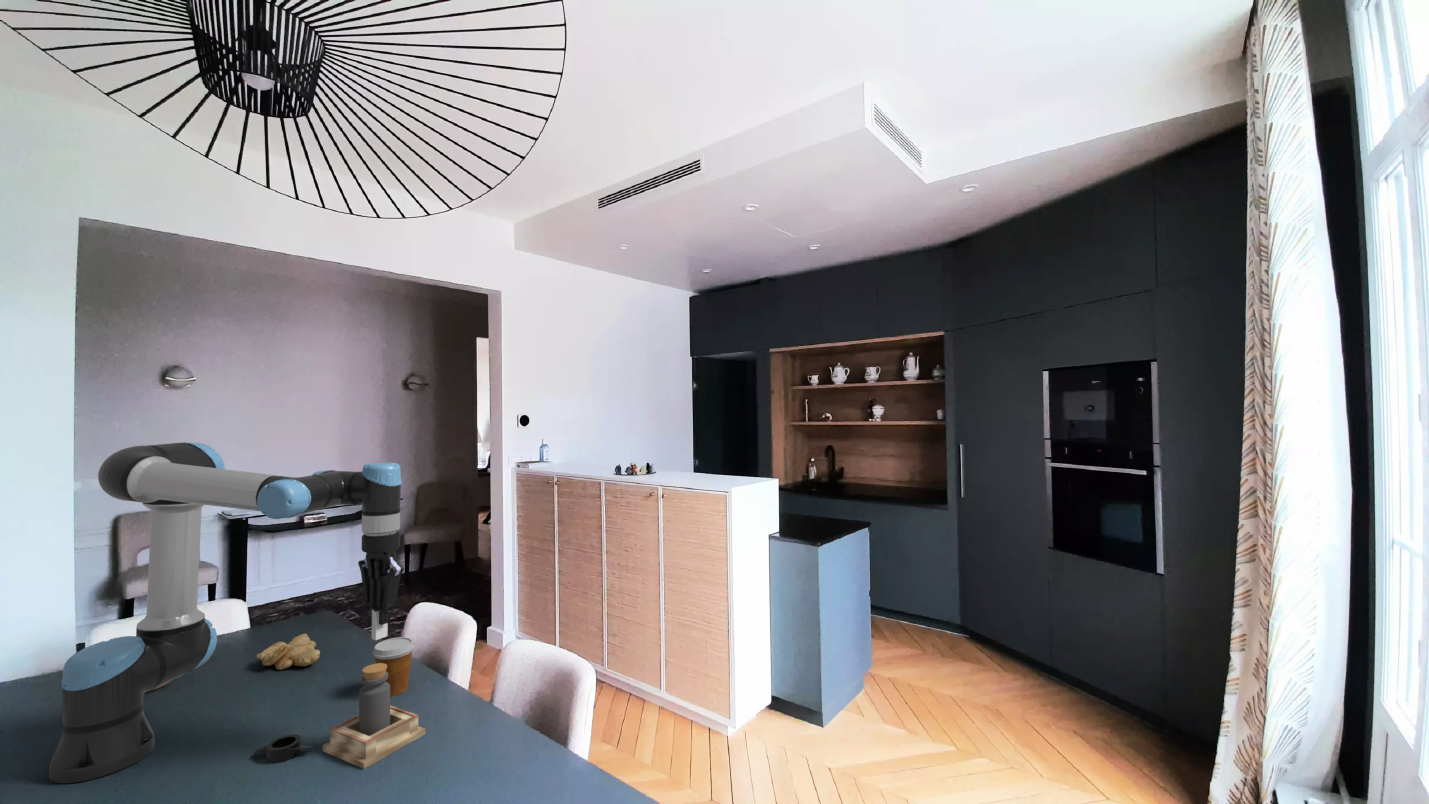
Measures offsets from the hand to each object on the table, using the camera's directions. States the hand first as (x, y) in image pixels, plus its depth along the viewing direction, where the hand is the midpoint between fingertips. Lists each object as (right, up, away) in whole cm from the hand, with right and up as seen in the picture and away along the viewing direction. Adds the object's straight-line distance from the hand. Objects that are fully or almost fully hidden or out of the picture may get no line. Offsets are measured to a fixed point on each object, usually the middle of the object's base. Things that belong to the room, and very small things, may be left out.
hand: (379, 637), depth 132 cm
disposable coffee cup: (-8, -22, +20) cm, 30 cm away
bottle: (+1, -20, -3) cm, 21 cm away
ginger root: (-46, -22, +35) cm, 62 cm away
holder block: (+1, -21, -4) cm, 22 cm away
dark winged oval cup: (-15, -22, -8) cm, 28 cm away
